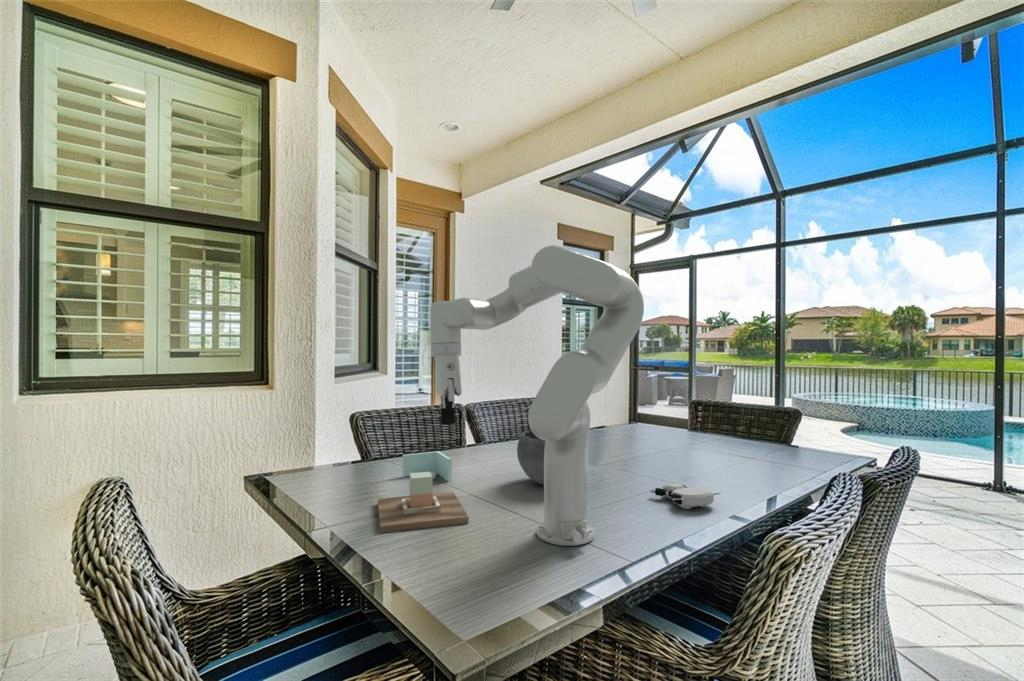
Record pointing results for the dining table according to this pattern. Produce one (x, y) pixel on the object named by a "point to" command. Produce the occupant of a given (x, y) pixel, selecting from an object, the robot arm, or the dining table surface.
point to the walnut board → (420, 513)
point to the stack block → (420, 489)
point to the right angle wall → (427, 464)
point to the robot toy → (686, 495)
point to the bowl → (531, 456)
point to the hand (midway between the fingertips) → (447, 423)
